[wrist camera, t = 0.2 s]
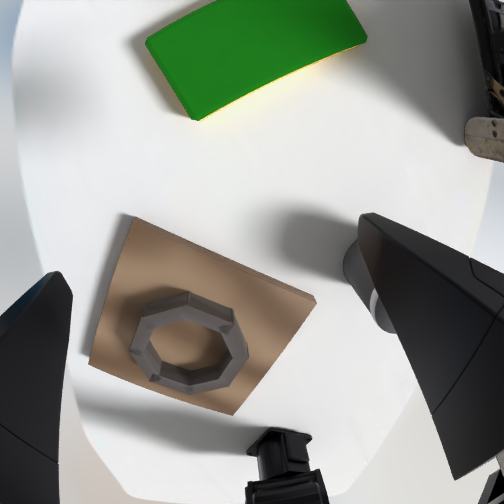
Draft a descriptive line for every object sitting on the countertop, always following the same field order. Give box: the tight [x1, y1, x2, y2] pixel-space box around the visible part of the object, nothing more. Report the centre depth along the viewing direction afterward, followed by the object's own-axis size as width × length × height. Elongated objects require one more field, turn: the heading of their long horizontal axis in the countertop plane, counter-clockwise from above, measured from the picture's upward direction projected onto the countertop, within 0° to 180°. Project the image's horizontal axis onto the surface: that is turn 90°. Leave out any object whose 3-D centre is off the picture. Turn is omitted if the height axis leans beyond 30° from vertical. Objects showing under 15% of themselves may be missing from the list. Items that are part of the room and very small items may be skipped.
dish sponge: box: [145, 0, 367, 121], centre depth 18 cm, size 7×14×2 cm, turn 119°
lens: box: [343, 239, 397, 334], centre depth 23 cm, size 5×5×7 cm
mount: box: [88, 217, 317, 416], centre depth 26 cm, size 16×16×3 cm
